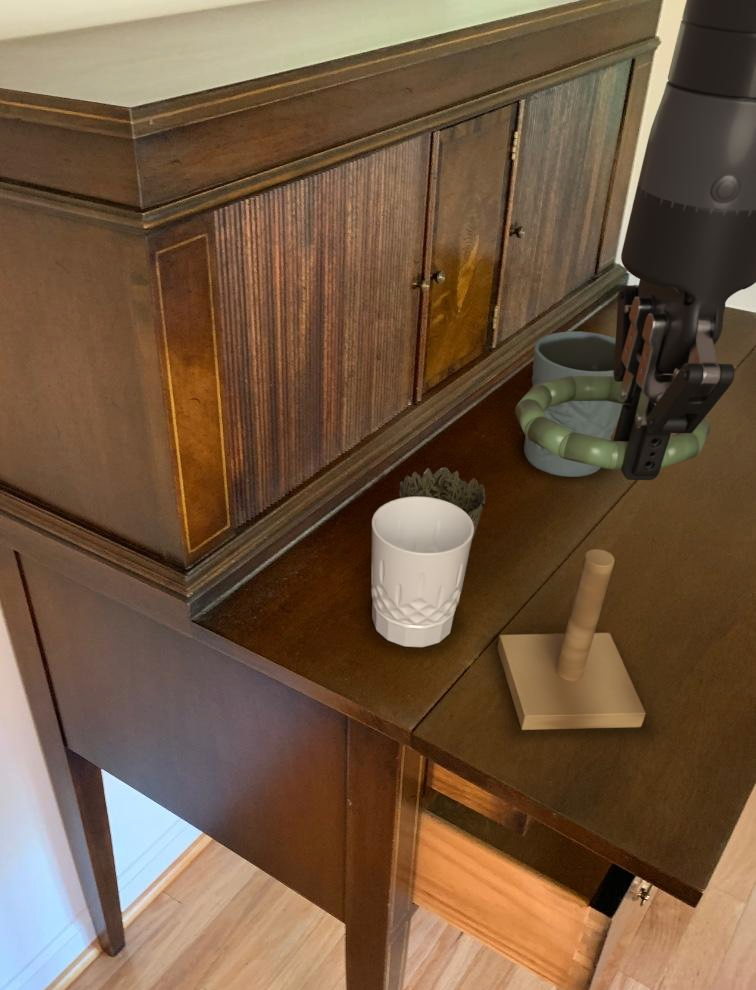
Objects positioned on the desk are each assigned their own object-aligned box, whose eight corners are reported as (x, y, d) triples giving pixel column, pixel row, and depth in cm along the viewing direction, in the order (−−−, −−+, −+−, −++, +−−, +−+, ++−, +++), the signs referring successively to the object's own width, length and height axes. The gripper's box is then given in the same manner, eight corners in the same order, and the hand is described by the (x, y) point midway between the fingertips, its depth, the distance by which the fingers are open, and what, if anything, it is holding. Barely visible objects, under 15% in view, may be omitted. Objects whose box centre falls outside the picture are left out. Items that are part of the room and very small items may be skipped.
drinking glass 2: (513, 472, 96) (532, 365, 88) (519, 427, 104) (537, 324, 96) (613, 485, 94) (641, 377, 87) (611, 438, 102) (637, 335, 94)
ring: (666, 394, 69) (672, 371, 68) (733, 474, 59) (741, 448, 58) (500, 395, 69) (503, 372, 68) (538, 475, 59) (543, 449, 58)
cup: (491, 565, 84) (504, 490, 78) (439, 600, 80) (449, 524, 74) (428, 530, 88) (436, 457, 83) (376, 562, 84) (381, 488, 79)
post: (605, 646, 75) (642, 519, 67) (641, 727, 68) (687, 597, 60) (497, 648, 75) (521, 521, 67) (521, 730, 68) (551, 599, 60)
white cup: (346, 614, 78) (351, 516, 72) (417, 581, 82) (427, 485, 75) (406, 666, 73) (417, 566, 67) (478, 629, 77) (495, 531, 70)
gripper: (844, 224, 43) (730, 527, 54) (732, 152, 54) (655, 417, 65) (688, 222, 43) (604, 527, 54) (606, 150, 54) (550, 416, 65)
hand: (632, 466), depth 59 cm, fingers closed on ring, 2 cm apart
